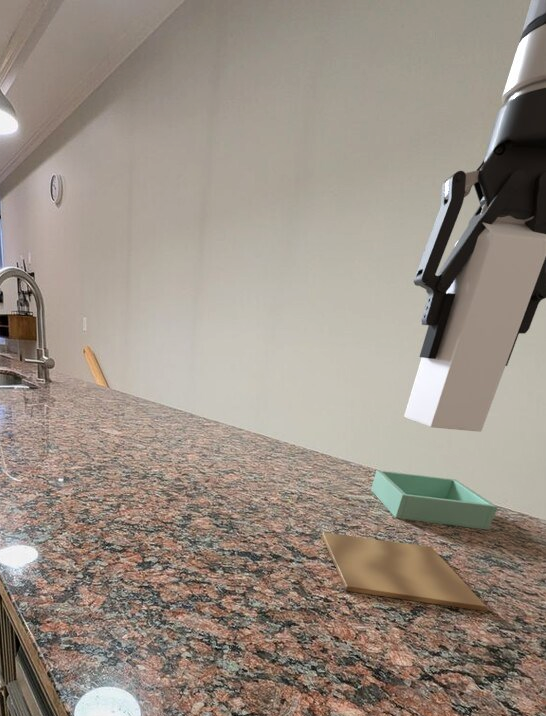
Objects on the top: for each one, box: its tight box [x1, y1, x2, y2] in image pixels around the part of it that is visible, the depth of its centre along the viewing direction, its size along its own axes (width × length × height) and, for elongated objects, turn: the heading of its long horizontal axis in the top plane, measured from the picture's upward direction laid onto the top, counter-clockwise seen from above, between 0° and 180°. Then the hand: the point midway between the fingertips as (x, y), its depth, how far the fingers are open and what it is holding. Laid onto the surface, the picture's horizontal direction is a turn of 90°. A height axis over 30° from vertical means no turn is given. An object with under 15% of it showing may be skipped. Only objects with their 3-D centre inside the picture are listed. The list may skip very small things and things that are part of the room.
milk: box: [403, 203, 546, 433], centre depth 49 cm, size 6×6×22 cm
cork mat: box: [321, 532, 488, 612], centre depth 53 cm, size 14×14×1 cm
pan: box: [370, 469, 498, 531], centre depth 74 cm, size 14×14×4 cm
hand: (461, 361), depth 50 cm, fingers closed on milk, 7 cm apart
